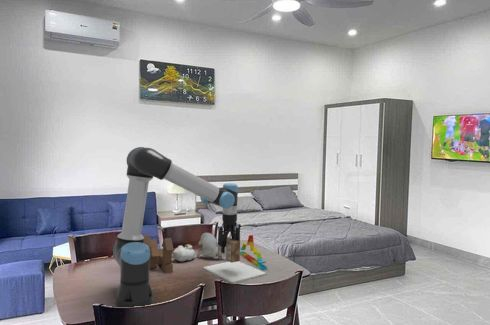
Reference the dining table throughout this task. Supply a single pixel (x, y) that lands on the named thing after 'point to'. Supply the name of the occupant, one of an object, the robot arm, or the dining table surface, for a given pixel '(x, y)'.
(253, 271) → the mat
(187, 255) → the cat figurine
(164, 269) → the building blocks
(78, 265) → the dining table surface
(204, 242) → the toy
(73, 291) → the dining table surface
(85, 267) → the dining table surface
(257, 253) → the multicoloured triangular frame
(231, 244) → the slab
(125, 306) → the robot arm
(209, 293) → the dining table surface
